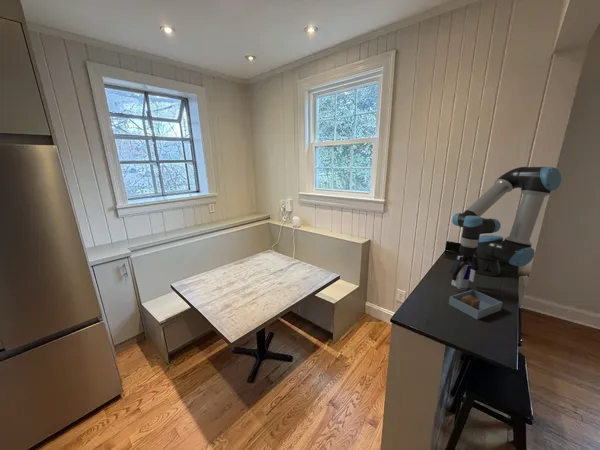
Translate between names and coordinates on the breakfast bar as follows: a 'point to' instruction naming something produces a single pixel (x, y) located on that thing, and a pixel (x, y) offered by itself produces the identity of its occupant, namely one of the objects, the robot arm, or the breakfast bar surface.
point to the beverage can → (464, 277)
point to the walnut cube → (471, 301)
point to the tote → (485, 306)
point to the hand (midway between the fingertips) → (462, 283)
